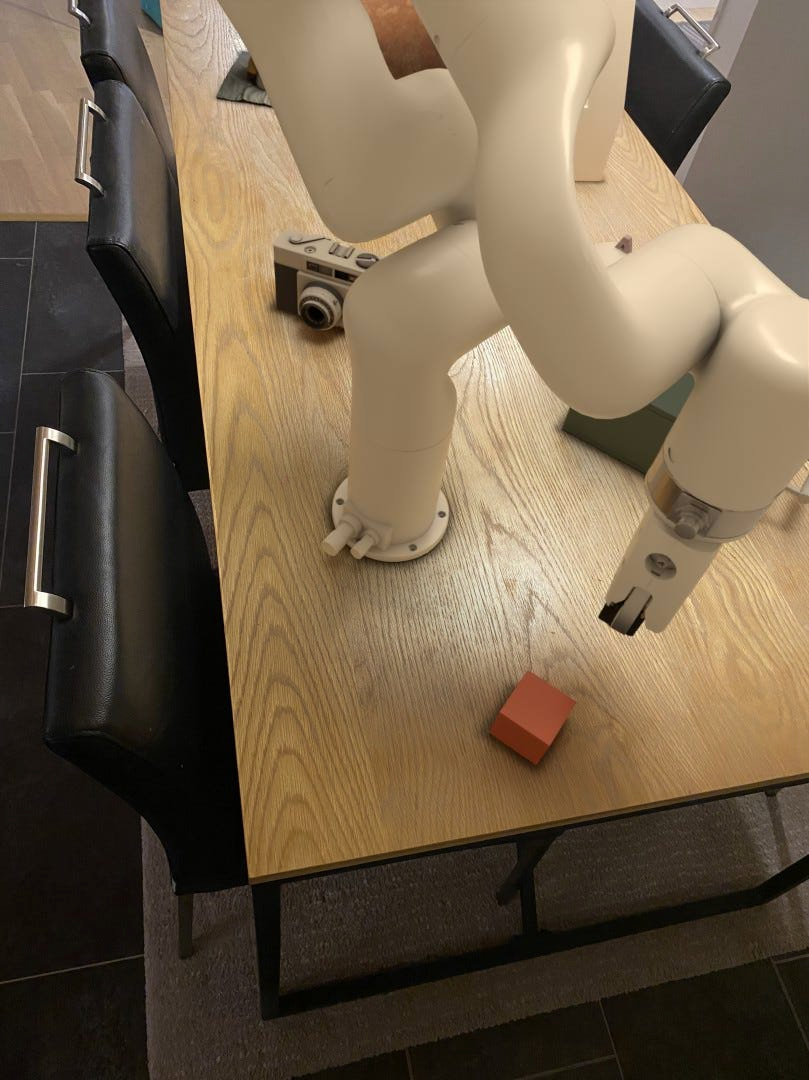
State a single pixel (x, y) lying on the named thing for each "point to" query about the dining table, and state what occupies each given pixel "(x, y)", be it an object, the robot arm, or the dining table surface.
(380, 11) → the pottery
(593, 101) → the beige slotted block
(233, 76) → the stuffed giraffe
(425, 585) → the dining table surface
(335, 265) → the camera
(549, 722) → the block
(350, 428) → the robot arm
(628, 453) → the cabinet
